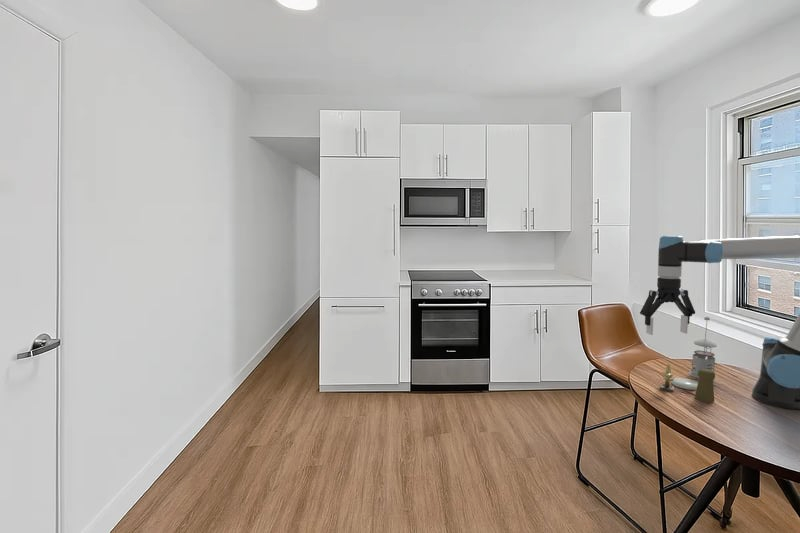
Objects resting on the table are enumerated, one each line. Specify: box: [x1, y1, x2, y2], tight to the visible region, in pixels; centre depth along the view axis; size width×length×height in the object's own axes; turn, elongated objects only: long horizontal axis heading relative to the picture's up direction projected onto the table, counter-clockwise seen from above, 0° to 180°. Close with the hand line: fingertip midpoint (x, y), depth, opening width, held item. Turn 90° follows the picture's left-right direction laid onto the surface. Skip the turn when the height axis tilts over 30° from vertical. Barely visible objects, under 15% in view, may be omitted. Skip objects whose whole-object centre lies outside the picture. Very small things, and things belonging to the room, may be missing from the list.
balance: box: [659, 363, 675, 393], centre depth 172 cm, size 4×12×11 cm, turn 145°
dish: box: [671, 377, 698, 391], centre depth 176 cm, size 10×10×1 cm
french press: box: [688, 316, 718, 380], centre depth 187 cm, size 10×12×25 cm
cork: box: [694, 369, 716, 403], centre depth 163 cm, size 6×6×11 cm
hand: (666, 333), depth 169 cm, fingers open, 13 cm apart
